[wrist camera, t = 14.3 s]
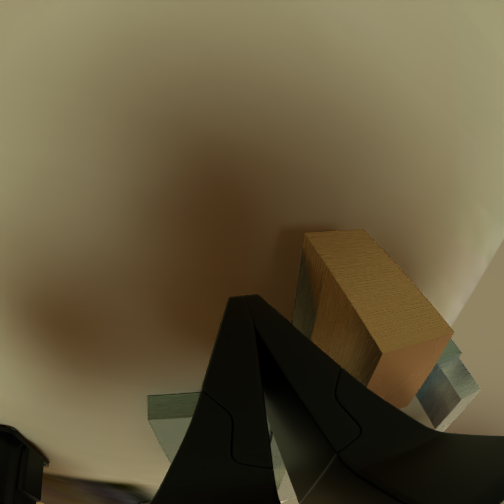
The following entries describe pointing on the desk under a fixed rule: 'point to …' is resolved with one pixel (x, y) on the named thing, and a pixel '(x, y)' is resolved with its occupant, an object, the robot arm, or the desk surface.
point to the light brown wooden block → (364, 320)
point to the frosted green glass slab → (183, 405)
